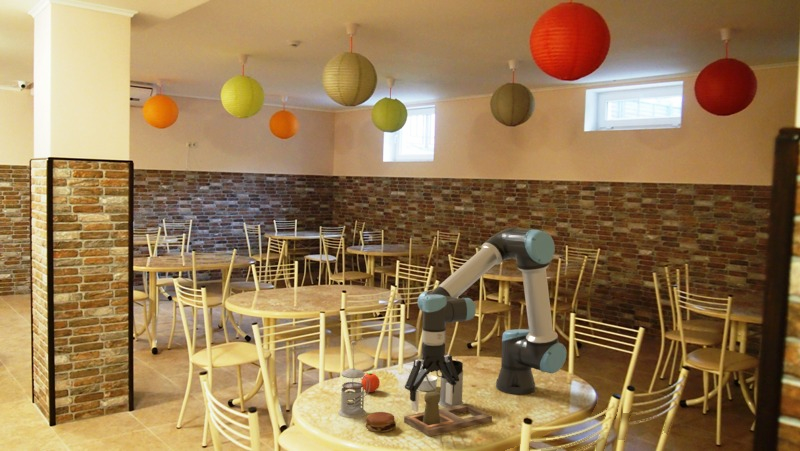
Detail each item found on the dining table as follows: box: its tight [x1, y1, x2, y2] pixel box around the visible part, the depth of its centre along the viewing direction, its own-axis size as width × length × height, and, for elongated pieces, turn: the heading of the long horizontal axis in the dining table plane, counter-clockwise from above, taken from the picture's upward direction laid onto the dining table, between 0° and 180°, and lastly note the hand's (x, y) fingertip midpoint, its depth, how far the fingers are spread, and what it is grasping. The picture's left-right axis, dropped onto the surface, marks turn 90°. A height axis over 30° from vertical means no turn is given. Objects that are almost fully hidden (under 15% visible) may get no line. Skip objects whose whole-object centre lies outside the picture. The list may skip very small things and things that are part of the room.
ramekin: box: [417, 374, 438, 392], centre depth 250 cm, size 9×9×4 cm
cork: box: [423, 391, 440, 425], centre depth 211 cm, size 6×6×11 cm
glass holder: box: [426, 359, 464, 408], centre depth 234 cm, size 9×14×15 cm, turn 73°
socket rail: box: [403, 403, 493, 437], centre depth 215 cm, size 26×14×2 cm, turn 123°
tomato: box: [360, 372, 380, 393], centre depth 245 cm, size 8×7×7 cm
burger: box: [365, 411, 397, 433], centre depth 208 cm, size 10×9×5 cm
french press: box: [337, 340, 370, 419], centre depth 221 cm, size 10×12×25 cm
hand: (432, 406), depth 211 cm, fingers open, 13 cm apart
